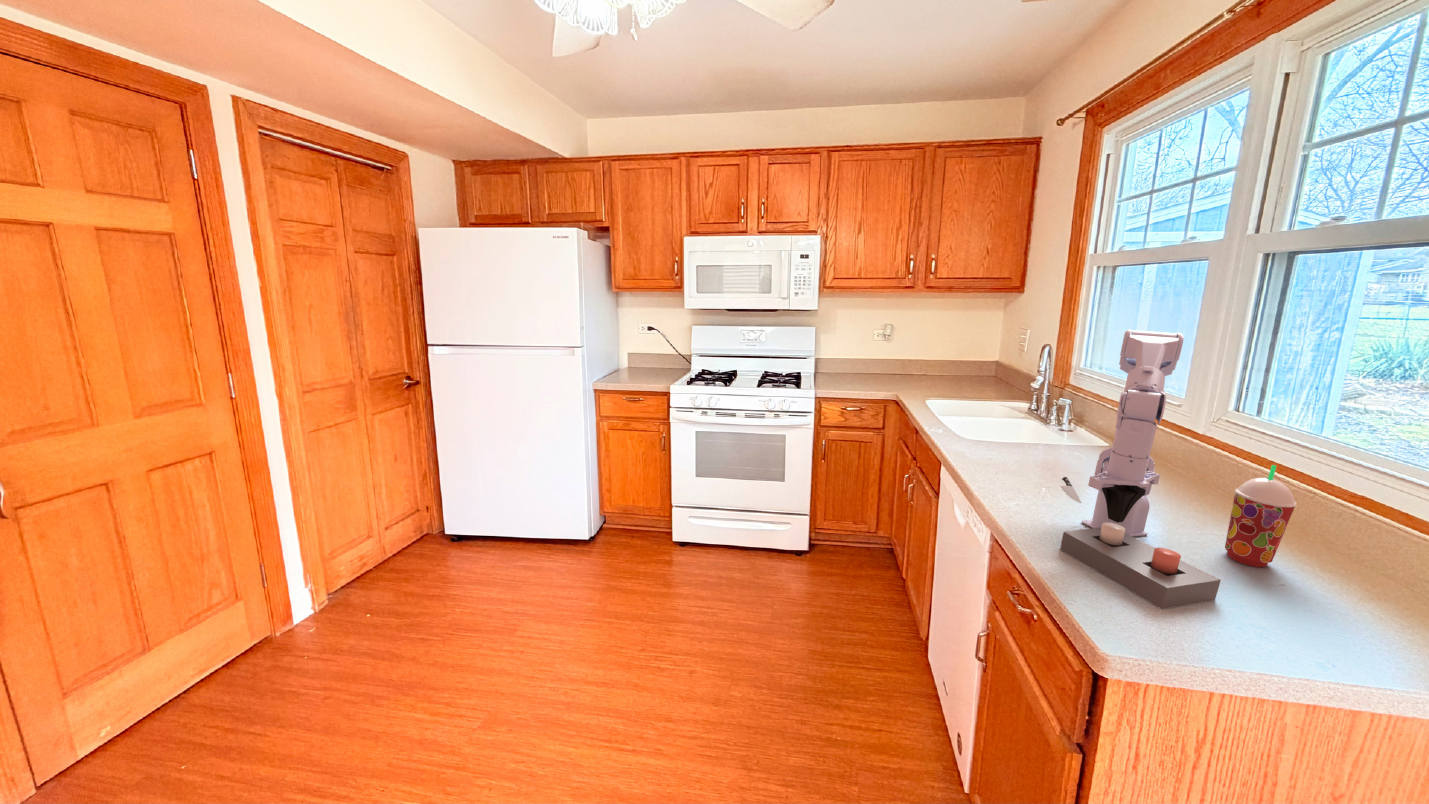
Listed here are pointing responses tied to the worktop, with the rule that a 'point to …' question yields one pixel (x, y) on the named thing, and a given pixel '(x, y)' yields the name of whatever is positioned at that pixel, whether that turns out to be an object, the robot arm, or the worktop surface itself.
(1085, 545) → the block
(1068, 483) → the chef's knife
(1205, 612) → the worktop surface
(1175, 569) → the red button
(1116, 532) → the beige button
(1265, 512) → the smoothie
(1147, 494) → the robot arm
